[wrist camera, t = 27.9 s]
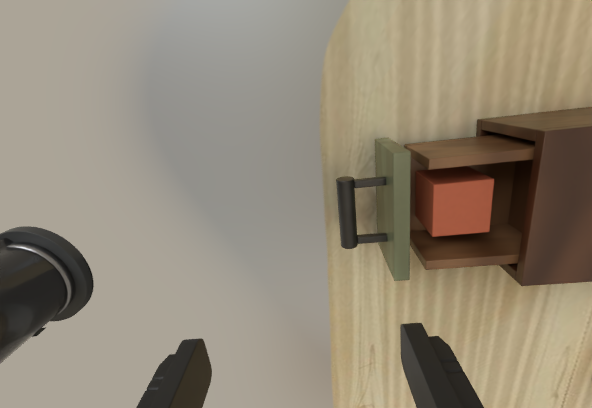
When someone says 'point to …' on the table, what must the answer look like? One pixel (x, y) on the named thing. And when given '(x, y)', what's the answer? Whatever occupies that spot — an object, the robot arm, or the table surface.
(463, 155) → the drawer
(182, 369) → the robot arm
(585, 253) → the cabinet
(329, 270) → the table surface
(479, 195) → the block
